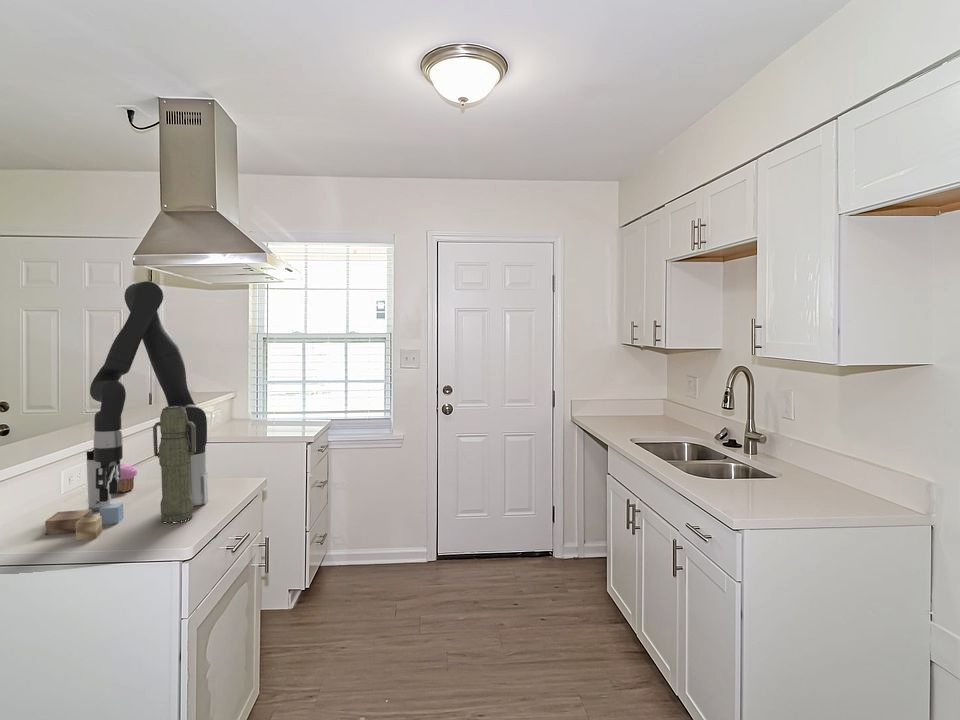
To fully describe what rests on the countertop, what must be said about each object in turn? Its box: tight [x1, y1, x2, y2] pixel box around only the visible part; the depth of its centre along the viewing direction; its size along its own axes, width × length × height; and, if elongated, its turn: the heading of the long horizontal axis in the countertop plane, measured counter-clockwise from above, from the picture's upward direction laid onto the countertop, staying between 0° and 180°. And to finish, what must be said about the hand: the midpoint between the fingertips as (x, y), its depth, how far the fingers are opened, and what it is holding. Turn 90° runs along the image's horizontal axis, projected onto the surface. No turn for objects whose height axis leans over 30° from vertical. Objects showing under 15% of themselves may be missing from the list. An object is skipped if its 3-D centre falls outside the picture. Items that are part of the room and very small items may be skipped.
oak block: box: [75, 515, 103, 541], centre depth 175 cm, size 5×5×5 cm
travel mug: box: [86, 449, 112, 512], centre depth 201 cm, size 6×7×20 cm
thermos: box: [152, 405, 196, 524], centre depth 189 cm, size 9×12×35 cm
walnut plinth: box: [44, 509, 93, 535], centre depth 181 cm, size 9×9×4 cm
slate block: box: [98, 502, 125, 526], centre depth 188 cm, size 5×5×5 cm
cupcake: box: [117, 463, 138, 493], centre depth 221 cm, size 9×9×10 cm
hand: (108, 497), depth 187 cm, fingers open, 8 cm apart
